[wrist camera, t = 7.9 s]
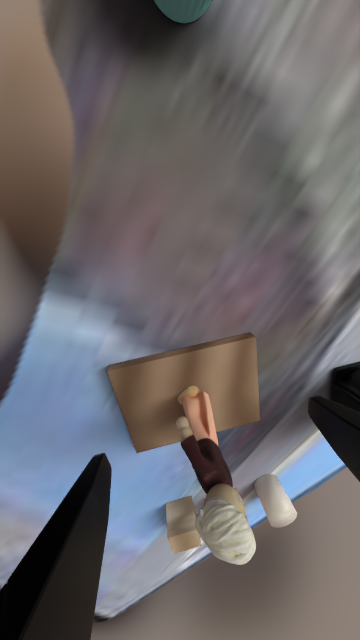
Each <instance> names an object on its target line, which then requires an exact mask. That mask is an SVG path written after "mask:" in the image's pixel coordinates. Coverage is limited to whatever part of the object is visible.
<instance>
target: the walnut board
mask: <svg viewBox="0 0 360 640" xmlns="http://www.w3.org/2000/svg"><path fill="white" fill-rule="evenodd" d="M107 373H108V376H109V379H110V381H111V384H112V387H113V389H114V392H115V395H116V398H117V400H118V403H119V406H120V409H121V411H122V414H123V417H124V419H125V422H126V425H127V428H128V430H129V433H130V436H131V439H132V441H133V444H134V447H135V449H136V452H137V453H139V452H142V451H146V450H150V449H154V448H158V447H161V446H165V445H169V444H173V443H177V442H180V441H181V439H180V435H179V429H178V428H177V425H176V421H177V419H178V418H179V417H181V416H184V417H186V414H185V411H184V408H183V405H181V404H180V403H179V402H178V399H177V398H178V395H179V394H180V393H181V392H183V391H184V390H185V389H186V388H187V387H188V386H196V387H198V389H199V390H200V395H201V393H202V392H206V393H207V394H208V395H209V399H210V403H211V408H212V413H213V419H214V424H215V429H216V432H218V431H222V430H226V429H230V428H234V427H237V426H241V425H245V424H249V423H253V422H256V421H260V408H259V390H258V372H257V353H256V337H255V336H254V335H253V334H251V333H246V334H242V335H238V336H233V337H229V338H225V339H220V340H216V341H212V342H207V343H203V344H199V345H194V346H190V347H186V348H181V349H177V350H172V351H168V352H164V353H159V354H155V355H151V356H146V357H142V358H138V359H133V360H129V361H125V362H120V363H116V364H112V365H109V367H108V370H107ZM186 418H187V417H186Z"/></svg>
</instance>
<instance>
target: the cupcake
mask: <svg viewBox="0 0 360 640" xmlns="http://www.w3.org/2000/svg"><path fill="white" fill-rule="evenodd" d="M211 1H212V0H154V2H155V3H156V5H157V6H158V8H159V9H160V10H161V11H162V12H163V13H164V14H165V15H166V16H167V17H168V18H170V19H171V20H173V21H176V22H179V23H190V22H193V21H195V20H197V19H198V18H200V17H201V16H202V15H203V14H204V13H205V11H206V10H207V9H208V7H209V5H210V3H211Z"/></svg>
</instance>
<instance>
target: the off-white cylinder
mask: <svg viewBox="0 0 360 640" xmlns="http://www.w3.org/2000/svg"><path fill="white" fill-rule="evenodd" d="M254 488H255V490H256V492H257V495H258V497H259V499H260V501H261V504H262V506H263V508H264V511H265V513H266V515H267V517H268V520H269V522H270V524H271V525H272V526H273V527H284V526H286V525H288V524H290V523H292V522H293V521H294V520H295V519H296V517H297V512H296V510H295V508H294V507H293V505H292V503H291V501H290V499H289V498H288V496H287V494H286V492H285V491H284V489H283V487H282V485H281V483H280V482H279V480H278V478H277V476H276V475H274V474H266V475H263V476H261V477H259V478H258V479H257V480H256V481H255V483H254Z"/></svg>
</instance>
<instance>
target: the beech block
mask: <svg viewBox="0 0 360 640" xmlns="http://www.w3.org/2000/svg"><path fill="white" fill-rule="evenodd" d="M166 517H167V535H168V540H169V543H170V546H171V548H172V551H173V554H175V553H178V552H182V551H185V550H188V549H191V548H195V547H198V546H201V541H200V535H199V533H198V531H197V529H196V526H195V520H196V511H195V507H194V504H193V500H192V496H188V497H185V498H181V499H178V500H174V501H171V502H167V503H166Z"/></svg>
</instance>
